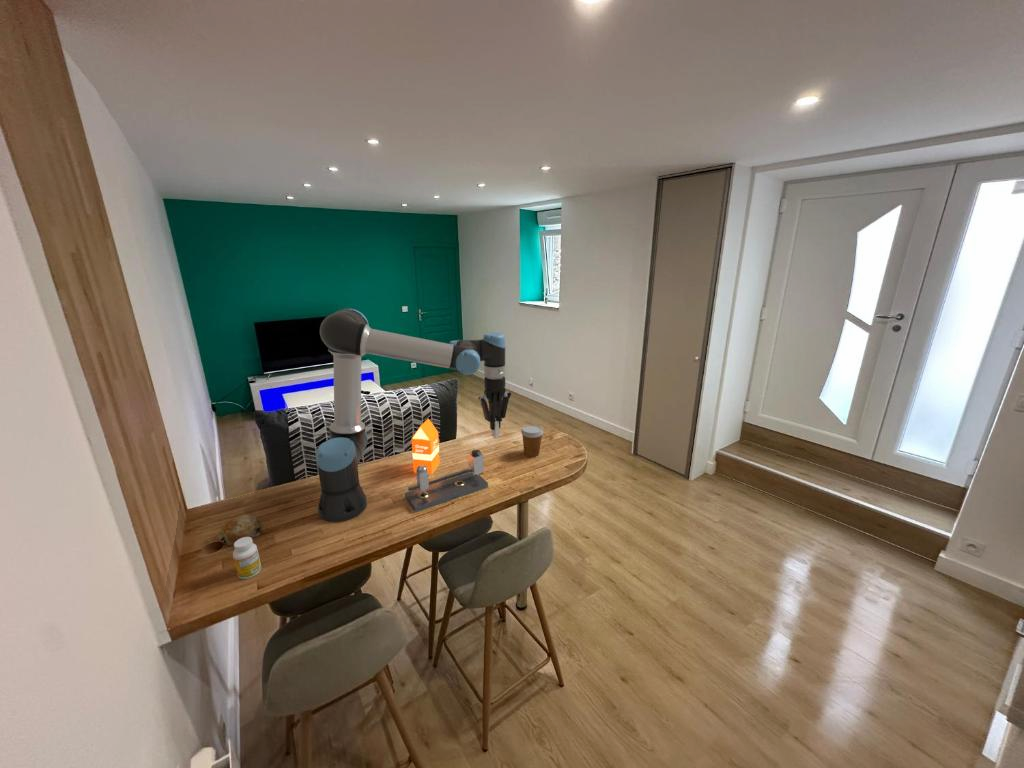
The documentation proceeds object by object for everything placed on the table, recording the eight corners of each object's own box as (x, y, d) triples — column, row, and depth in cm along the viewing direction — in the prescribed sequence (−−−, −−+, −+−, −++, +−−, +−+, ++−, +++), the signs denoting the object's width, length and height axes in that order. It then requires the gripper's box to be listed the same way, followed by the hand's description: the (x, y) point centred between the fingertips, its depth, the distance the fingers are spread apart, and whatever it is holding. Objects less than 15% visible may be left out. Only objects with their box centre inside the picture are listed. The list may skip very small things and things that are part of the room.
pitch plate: (415, 512, 132) (413, 478, 128) (405, 498, 140) (402, 465, 136) (487, 487, 147) (487, 455, 143) (474, 475, 155) (474, 445, 151)
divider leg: (474, 479, 146) (474, 455, 143) (469, 474, 149) (468, 451, 146) (483, 476, 148) (483, 452, 145) (478, 471, 151) (478, 448, 148)
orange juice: (439, 463, 163) (437, 418, 157) (432, 474, 155) (429, 427, 149) (421, 461, 165) (419, 417, 159) (413, 472, 156) (410, 425, 150)
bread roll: (250, 555, 117) (259, 532, 116) (210, 548, 113) (219, 525, 112) (260, 533, 126) (268, 512, 125) (224, 527, 122) (232, 505, 121)
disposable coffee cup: (541, 460, 167) (542, 434, 163) (518, 458, 169) (519, 432, 165) (543, 450, 176) (544, 425, 172) (522, 448, 178) (523, 423, 174)
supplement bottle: (239, 568, 107) (232, 538, 104) (262, 562, 110) (256, 532, 107) (236, 582, 103) (228, 551, 100) (260, 575, 105) (253, 545, 102)
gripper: (484, 382, 135) (485, 444, 142) (515, 376, 142) (515, 436, 149) (473, 376, 141) (475, 437, 148) (504, 371, 148) (504, 429, 155)
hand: (495, 436), depth 149 cm, fingers closed
